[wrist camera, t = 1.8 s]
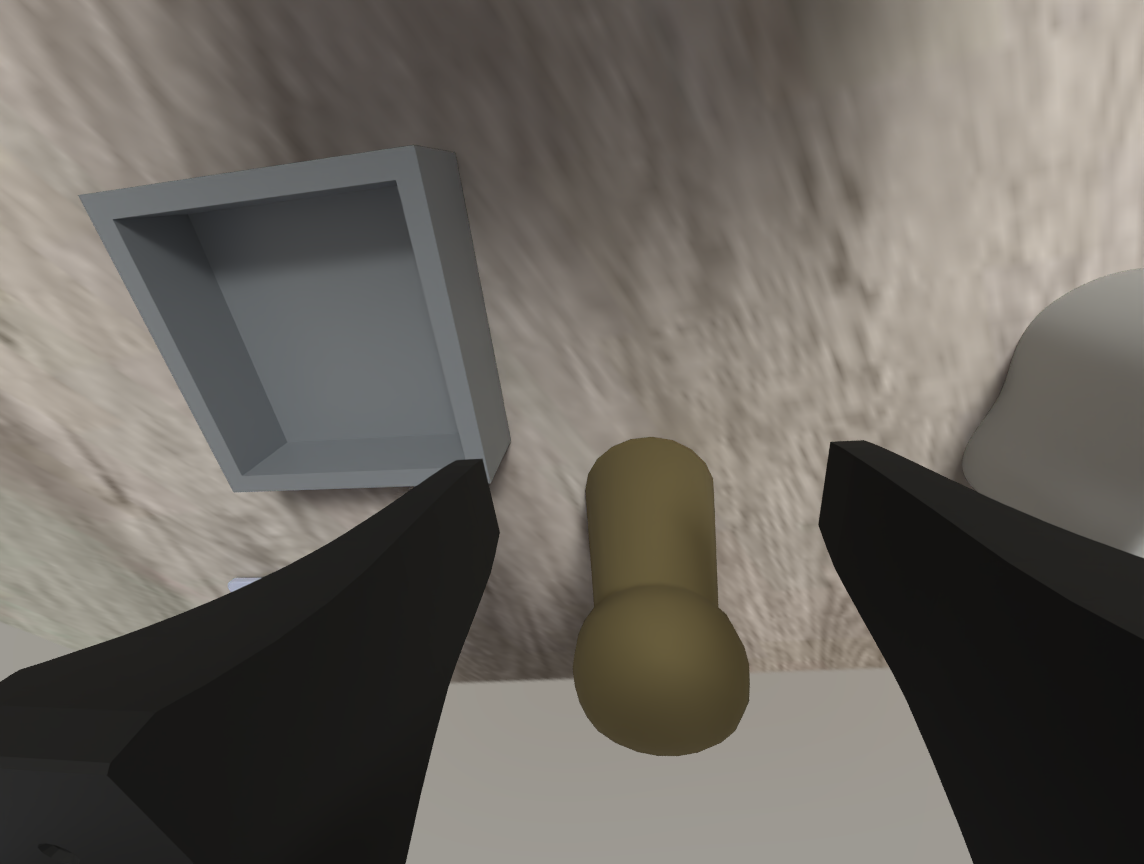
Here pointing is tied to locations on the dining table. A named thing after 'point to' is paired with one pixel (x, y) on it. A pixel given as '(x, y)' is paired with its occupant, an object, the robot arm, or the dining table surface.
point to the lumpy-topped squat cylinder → (1073, 417)
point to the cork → (657, 606)
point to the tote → (318, 316)
